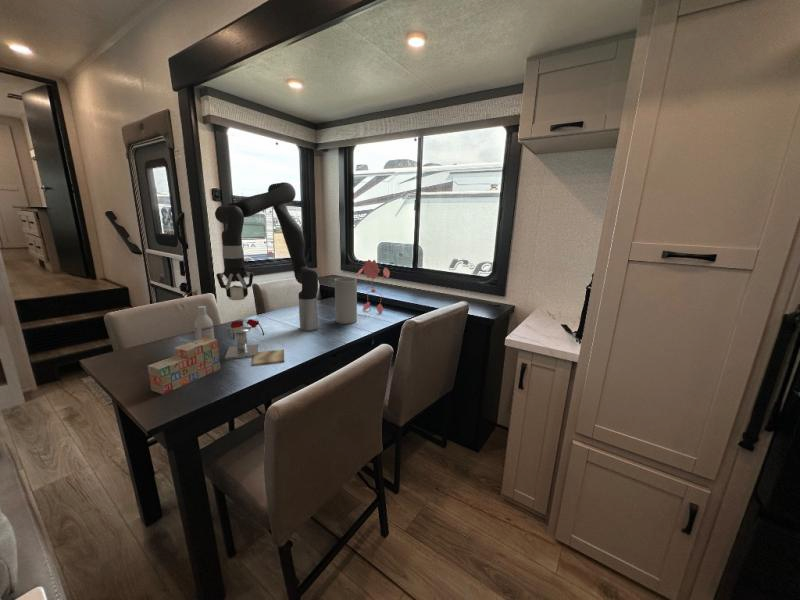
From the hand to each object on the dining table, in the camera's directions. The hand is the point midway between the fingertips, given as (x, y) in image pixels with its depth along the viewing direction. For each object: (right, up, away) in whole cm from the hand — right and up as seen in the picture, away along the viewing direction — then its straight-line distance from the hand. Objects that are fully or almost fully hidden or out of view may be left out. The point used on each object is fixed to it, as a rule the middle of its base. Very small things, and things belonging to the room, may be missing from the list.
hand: (237, 297), depth 132 cm
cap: (0, -1, 0) cm, 1 cm away
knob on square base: (-1, -24, +6) cm, 25 cm away
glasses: (-11, -18, +31) cm, 38 cm away
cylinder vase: (+36, -14, +55) cm, 67 cm away
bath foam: (-17, -24, +7) cm, 30 cm away
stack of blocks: (-9, -30, -18) cm, 36 cm away
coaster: (+13, -26, +1) cm, 29 cm away
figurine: (+49, -10, +72) cm, 87 cm away
